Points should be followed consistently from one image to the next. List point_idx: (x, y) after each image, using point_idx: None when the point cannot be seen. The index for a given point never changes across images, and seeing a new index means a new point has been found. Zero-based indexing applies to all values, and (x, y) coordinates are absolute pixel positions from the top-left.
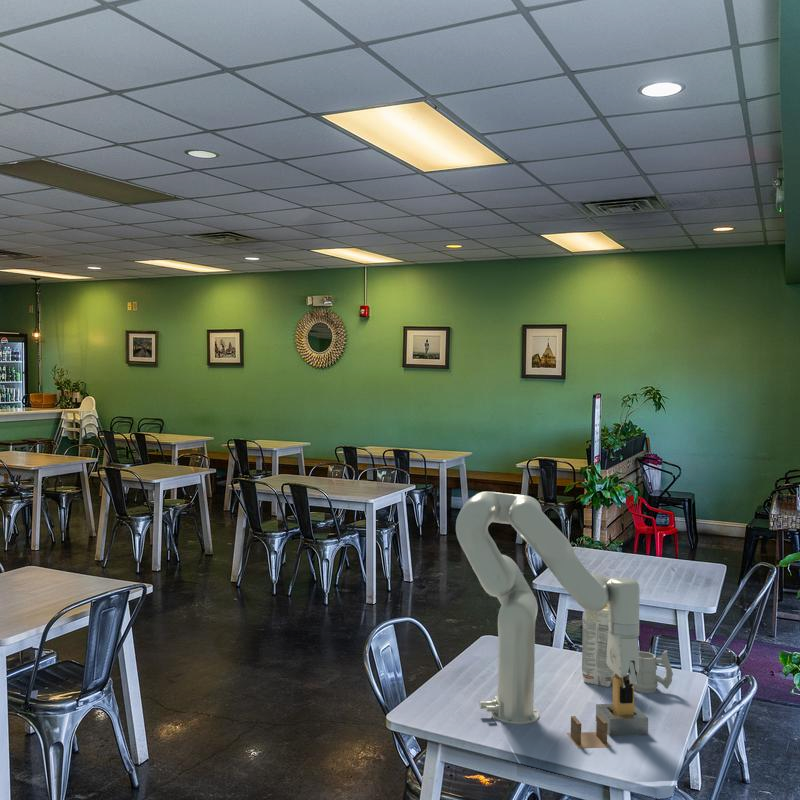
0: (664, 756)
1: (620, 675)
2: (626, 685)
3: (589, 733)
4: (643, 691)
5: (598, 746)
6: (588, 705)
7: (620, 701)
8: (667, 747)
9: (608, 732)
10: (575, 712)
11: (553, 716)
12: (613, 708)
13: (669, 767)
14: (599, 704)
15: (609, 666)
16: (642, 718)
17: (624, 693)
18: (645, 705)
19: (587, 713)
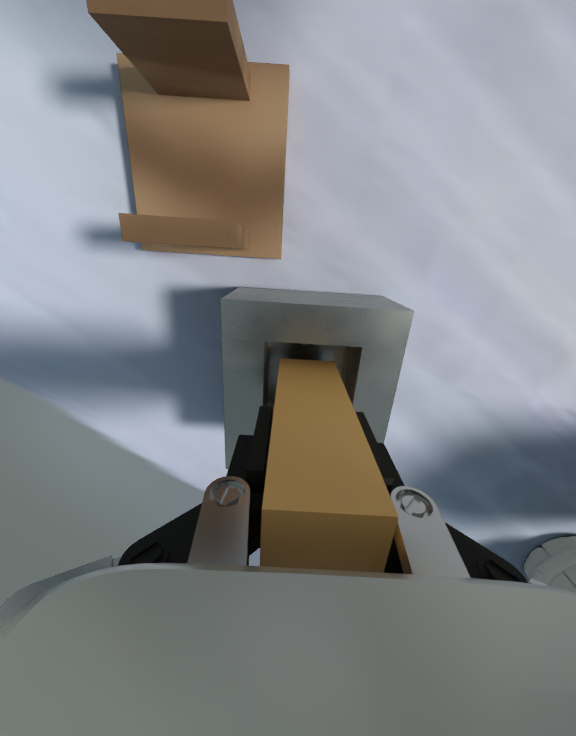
0: (116, 410)
1: (36, 600)
2: (175, 522)
3: (269, 204)
4: (539, 551)
5: (143, 187)
6: (542, 343)
7: (261, 408)
8: (176, 445)
9: (248, 290)
10: (509, 254)
11: (518, 105)
12: (329, 372)
13: (43, 390)
14: (406, 328)
15: (502, 610)
16: (225, 447)
17: (239, 460)
18: (456, 515)
19: (478, 304)
